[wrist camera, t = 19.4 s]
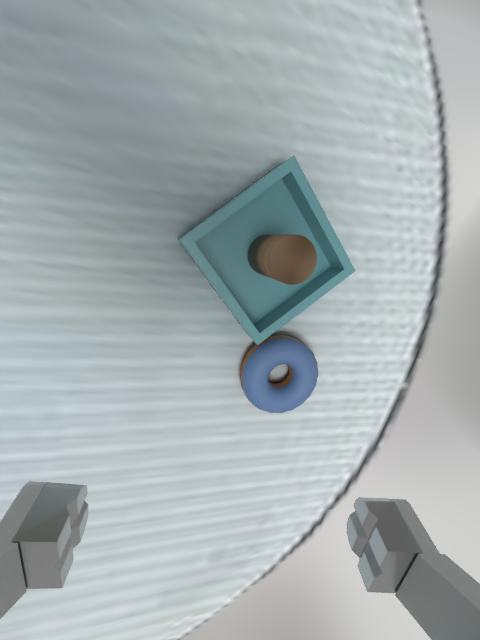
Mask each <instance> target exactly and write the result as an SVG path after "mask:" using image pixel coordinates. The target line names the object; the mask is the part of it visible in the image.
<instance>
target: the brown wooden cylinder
mask: <svg viewBox="0 0 480 640" xmlns="http://www.w3.org/2000/svg"><path fill="white" fill-rule="evenodd" d="M247 257H248V262H249V264H250V266H251V268H252V269H253V270H254V271H255V272H257V273H259V274H262V275H264V276H267V277H269V278H272V279H275V280H277V281H280V282H282V283H285V284H289V285H296V284H300V283H302V282H304V281H305V280H307V279H308V278H309V277H310V276H311V274H312V273H313V271H314V269H315V266H316V262H317V254H316V250H315V247H314V245H313V244H312V242H311V241H310V240H309V239H307V238H306V237H304V236H302V235H297V234H283V235H261V236H259V237H257V238H256V239H255V240H253V242H252V243H251V244H250V246H249V249H248V254H247Z"/></svg>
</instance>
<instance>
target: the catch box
mask: <svg viewBox="0 0 480 640" xmlns="http://www.w3.org/2000/svg"><path fill="white" fill-rule="evenodd" d="M283 234H297V235H302V236H304V237H306V238H307V239H309V240H310V241H311V242H312V244H313V245H314V247H315V250H316V254H317V262H316V266H315V269H314V271H313V273H312V274H311V276H310V277H309V278H308V279H307V280H305V281H304V282H302V283H300V284H296V285H289V284H285V283H282V282H280V281H277V280H275V279H272V278H269V277H267V276H264V275H262V274H259V273H257V272H255V271H254V270H253V269H252V268H251V266H250V264H249V262H248V257H247V254H248V249H249V246H250V244H251V243H252V242H253V240H255V239H256V238H257V237H259V236H261V235H283ZM178 240H179V242H180V243H181V244H182V246H183V247H184V248H185V250H186V251H187V253H188V254H189V255H190V257H191V258H192V259H193V261H194V262H195V263H196V265H197V266H198V268H199V269H200V270H201V272H202V273H203V274H204V276H205V277H206V278H207V280H208V281H209V282H210V284H211V285H212V287H213V288H214V289H215V291H216V292H217V293H218V295H219V296H220V297H221V299H222V300H223V301H224V303H225V304H226V306H227V307H228V308H229V310H230V311H231V312H232V314H233V315H234V316H235V318H236V319H237V321H238V322H239V323H240V325H241V326H242V327H243V329H244V330H245V331H246V333H247V334H248V335H249V337H250V338H251V339H252V340H253V341H254V342H255V343H256V344H257V345H259V344H260V343H261V342H262V341H264V340H265V339H266V338H268V337H269V336H270V335H272V334H273V333H274V332H276V331H277V330H278V329H280V328H281V327H282V326H284V325H285V324H286V323H287V322H289V321H290V320H291V319H293V318H294V317H295V316H297V315H298V314H299V313H301V312H302V311H303V310H305V309H306V308H307V307H309V306H310V305H311V304H312V303H314V302H315V301H316V300H318V299H319V298H320V297H322V296H323V295H324V294H326V293H327V292H328V291H330V290H331V289H332V288H334V287H335V286H336V285H337V284H339V283H340V282H341V281H343V280H344V279H345V278H347V277H348V276H349V275H351V274H352V273H353V272H355V269H354V268H353V266H352V264H351V262H350V260H349V258H348V256H347V254H346V253H345V251H344V249H343V247H342V245H341V243H340V241H339V239H338V238H337V236H336V234H335V232H334V230H333V228H332V226H331V224H330V222H329V221H328V219H327V217H326V215H325V213H324V211H323V209H322V207H321V206H320V204H319V202H318V200H317V198H316V196H315V194H314V192H313V191H312V189H311V187H310V185H309V183H308V181H307V179H306V177H305V175H304V174H303V172H302V170H301V168H300V166H299V164H298V162H297V160H296V159H295V157H294V156H293V157H291V158H290V159H288V160H286V161H285V162H283V163H281V164H280V165H278V166H277V167H276V168H274V169H273V170H271V171H270V172H269V173H267V174H266V175H265V176H263V177H262V178H261V179H259V180H258V181H256V182H255V183H254V184H252V185H251V186H250V187H248V188H247V189H246V190H244V191H243V192H242V193H240V194H239V195H237V196H236V197H235V198H233V199H232V200H231V201H229V202H228V203H227V204H225V205H224V206H222V207H221V208H220V209H218V210H217V211H216V212H214V213H213V214H212V215H210V216H209V217H207V218H206V219H205V220H203V221H202V222H201V223H199V224H198V225H197V226H195V227H194V228H192V229H191V230H190V231H188V232H187V233H186V234H184V235H183V236H182V237H180V238H179V239H178Z"/></svg>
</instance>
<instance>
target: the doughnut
mask: <svg viewBox="0 0 480 640" xmlns="http://www.w3.org/2000/svg"><path fill="white" fill-rule="evenodd" d="M280 364H287V365H289V368H290V371H289V374H288V376H287V378H286V379H285V380H284V381H282V382H280V383H277V384H272V383H270V382H269V381H268V377H269V374H270V372H271V370H272V369H273V368H274V367H276V366H278V365H280ZM317 377H318V368H317V361H316V359H315V357H314V355H313V352H312V351H311V350H310V349H309V348H308V347H307V346H306V345H305V344H304V343H303V342H302V341H300V340H298V339H296V338H293V337H291V336H285V335H276V336H271V337H268V338H266V339H265V340H264V341H262V342H261V343H260V344H259V345H257V344H255V345H254V346H253V347H252V348H251V349H250V350H249V351H248V353H247V354H246V356H245V358H244V360H243V362H242V365H241V371H240V379H241V385H242V389H243V391H244V393H245V394H246V396H247V398H248V400H249V401H250V402H251V403H252V404H254V405H255V406H256V407H257V408H258V409H261V410H264V411H267V412H270V413H283V412H286V411H290V410H293V409H294V408H296V407H298V406H299V405H301V404H303V402H304V401H305V400H306V399H307V398H308V397H309V396H310V395H311V393H312V391H313V389H314V388H315V386H316V382H317Z"/></svg>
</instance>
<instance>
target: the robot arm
mask: <svg viewBox="0 0 480 640" xmlns="http://www.w3.org/2000/svg"><path fill="white" fill-rule="evenodd" d="M86 496H87V485H76V484H63V483H50V482H33V481H29V482H28V483H27V484H26V485H25V486H24V487H23V488H22V489H21V491H20V492H19V494H18V495H17V497H16V499H15V500H14V502H13V503H12V505H11V506H10V508H9V509H8V511H7V512H6V514H5V516H4V517H3V519H2V520H1V522H0V619H1V618H2V617H3V615H4V614H5V613H6V612H7V611H8V610H9V609H10V608H11V607H12V606H13V605H14V604H15V603H16V602H17V601H18V600H19V599H20V598H21V597H22V596H23V594H24V593H25V592H26V591H27V590H26V589H41V588H63V585H64V582H65V580H66V577H67V575H68V572H69V570H70V567H71V565H72V562H73V548H74V547H75V546H76V545H78V544H79V543H80V541H81V539H82V536H83V533H84V530H85V526H86V522H87V518H88V504H87V503H86V502H85V498H86ZM354 508H355V510H356V511H355V512H353V513H352V514H351V515H350V516H349V518H348V521H347V535H348V539H349V543H350V546H351V549H352V550H353V551H354V553H355V554H357V556H358V557H359V563H358V568H359V571H360V574H361V576H362V579H363V582H364V584H365V587H366V589H367V592H382V593H396V594H395V595H396V597H397V598H398V599H399V600H400V602H401V603H402V604H403V605H404V606H405V608H406V609H407V610H408V611H409V612H410V614H411V615H412V616H413V617H414V619H415V620H416V621H417V622H418V623H419V625H420V626H421V627H422V628H423V630H424V631H425V632H426V633H427V634H428V636H429V637H430V638H431V639H432V640H480V584H479V583H478V582H477V581H476V580H474V579H473V578H472V577H471V576H470V575H468V574H467V573H466V572H465V571H464V570H463V569H461V568H460V567H459V566H458V565H457V564H455V563H454V562H453V561H452V560H451V559H450V558H448V557H447V556H446V555H445V554H440V553H439V552H438V550H437V548H436V546H435V545H434V543H433V542H432V540H431V538H430V537H429V535H428V533H427V532H426V530H425V528H424V527H423V525H422V523H421V522H420V520H419V518H418V517H417V515H416V514H415V512H414V510H413V508H412V507H411V505H410V504H409V503H408V502H407V501H406V500H403V499H387V498H358V499H356V501H355V503H354Z"/></svg>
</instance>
